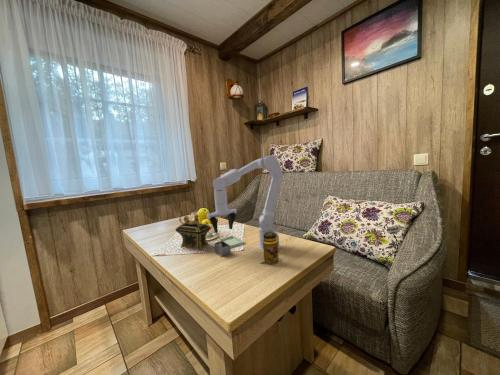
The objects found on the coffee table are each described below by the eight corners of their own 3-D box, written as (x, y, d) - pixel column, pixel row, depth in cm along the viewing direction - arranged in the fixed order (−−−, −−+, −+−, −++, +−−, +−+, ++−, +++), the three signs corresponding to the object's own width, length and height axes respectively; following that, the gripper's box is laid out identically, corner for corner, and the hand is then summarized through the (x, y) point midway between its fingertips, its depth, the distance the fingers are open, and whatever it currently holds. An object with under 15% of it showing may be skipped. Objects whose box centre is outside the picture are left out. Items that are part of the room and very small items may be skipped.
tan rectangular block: (233, 254, 98) (232, 246, 98) (221, 258, 95) (220, 250, 95) (224, 248, 106) (223, 241, 106) (213, 252, 103) (212, 244, 102)
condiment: (275, 267, 85) (273, 237, 83) (256, 263, 89) (254, 235, 88) (282, 259, 91) (280, 231, 90) (264, 256, 95) (262, 229, 94)
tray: (244, 244, 109) (244, 241, 109) (228, 250, 104) (227, 246, 104) (233, 238, 120) (232, 235, 120) (217, 242, 115) (217, 239, 115)
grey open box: (230, 253, 98) (230, 245, 98) (222, 256, 96) (221, 248, 96) (222, 248, 106) (221, 240, 105) (214, 250, 103) (213, 242, 103)
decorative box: (213, 244, 112) (210, 208, 110) (200, 252, 104) (196, 212, 101) (185, 240, 122) (182, 206, 120) (172, 246, 114) (167, 210, 111)
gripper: (231, 199, 108) (233, 225, 110) (203, 204, 101) (206, 231, 103) (237, 201, 103) (239, 228, 104) (209, 206, 95) (211, 235, 97)
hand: (223, 230), depth 103 cm, fingers open, 7 cm apart
